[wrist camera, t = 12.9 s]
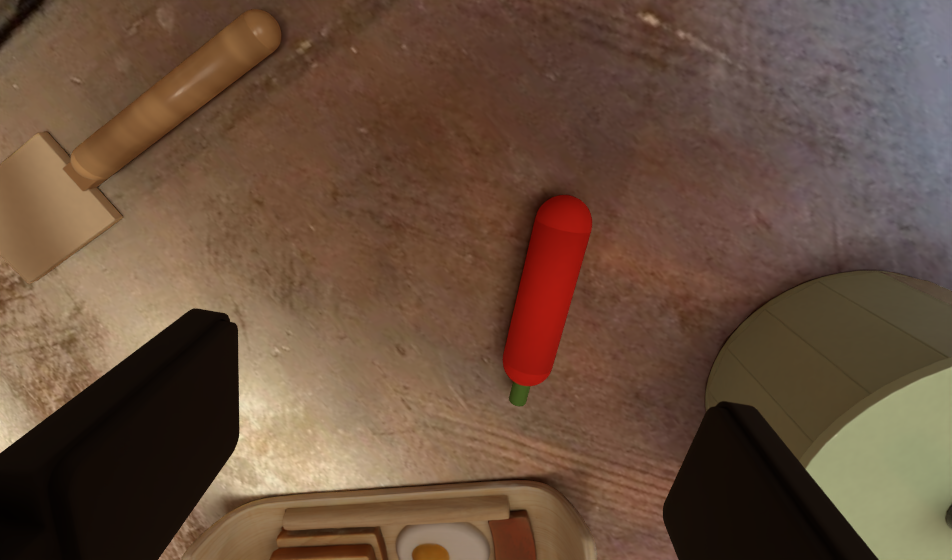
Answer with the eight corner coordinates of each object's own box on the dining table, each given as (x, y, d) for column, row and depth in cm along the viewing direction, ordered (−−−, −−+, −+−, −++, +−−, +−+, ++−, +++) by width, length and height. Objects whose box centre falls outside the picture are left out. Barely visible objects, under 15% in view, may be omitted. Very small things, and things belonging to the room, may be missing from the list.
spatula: (245, -34, 21) (224, -45, 19) (318, 75, 23) (304, 73, 21) (-39, 203, 26) (-77, 211, 24) (37, 280, 27) (7, 292, 26)
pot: (763, 247, 25) (888, 319, 17) (1024, 297, 25) (1261, 389, 18) (670, 460, 30) (732, 589, 22) (887, 497, 31) (1022, 637, 23)
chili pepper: (543, 195, 22) (603, 207, 22) (540, 185, 24) (594, 195, 24) (492, 411, 26) (542, 421, 26) (494, 383, 29) (539, 392, 29)
